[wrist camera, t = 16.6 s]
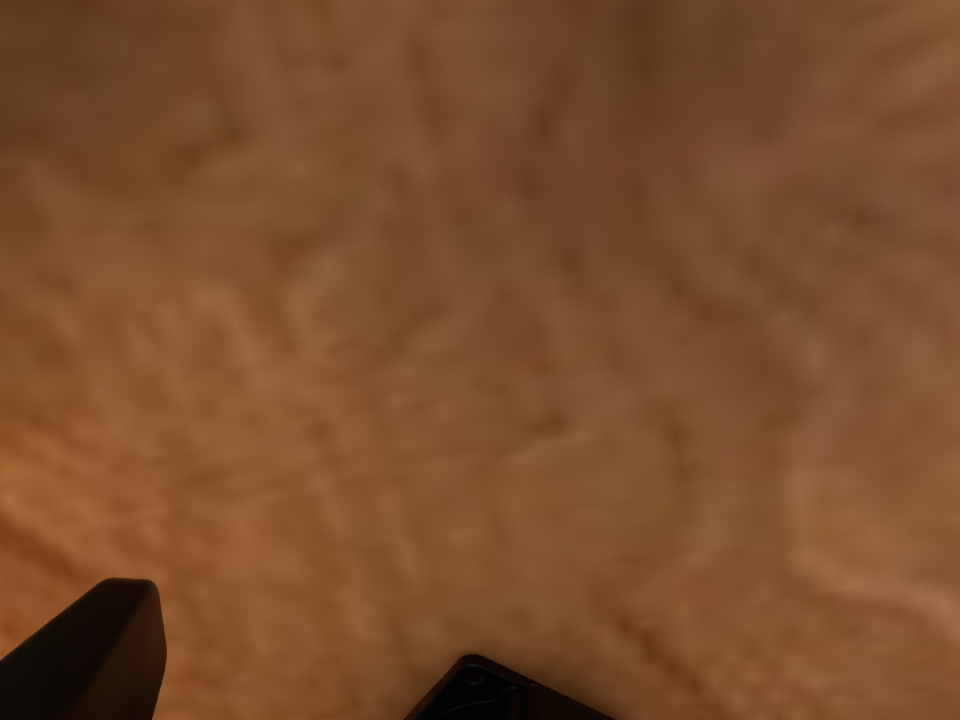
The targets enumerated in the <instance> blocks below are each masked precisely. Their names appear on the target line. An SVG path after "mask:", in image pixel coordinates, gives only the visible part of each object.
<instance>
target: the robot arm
mask: <svg viewBox="0 0 960 720" xmlns="http://www.w3.org/2000/svg"><path fill="white" fill-rule="evenodd" d="M166 657H167V647H166V639H165V632H164V625H163V618H162V611H161V604H160V597H159V592H158V589H157V587H156V585H155V583H154V582H152V581H150V580H147V579H131V578H108V579H105V580H103V581H101V582H100V583H98V584H97V585H96V586H94V587H93V588H92V589H90V590H89V591H88V592H87V593H85V594H84V595H83V596H82V597H80V598H79V599H78V600H76V601H75V602H74V603H73V604H71V605H70V606H69V607H67V608H66V609H65V610H64V611H62V612H61V613H60V614H59V615H57V616H56V617H55V618H53V619H52V620H51V621H50V622H48V623H47V624H46V625H44V626H43V627H42V628H41V629H39V630H38V631H37V632H36V633H34V634H33V635H32V636H30V637H29V638H28V639H27V640H25V641H24V642H23V643H21V644H20V645H19V646H18V647H16V648H15V649H14V650H12V651H11V652H10V653H9V654H7V655H6V656H5V657H4V658H2V659H1V660H0V720H152V717H153V714H154V710H155V706H156V702H157V699H158V695H159V691H160V687H161V684H162V680H163V676H164V672H165V666H166ZM471 671H475V673H472V672H471ZM404 720H615V719H613V718H611V717H609V716H606V715H604V714H602V713H600V712H598V711H596V710H594V709H592V708H590V707H588V706H586V705H583V704H581V703H579V702H577V701H575V700H573V699H571V698H569V697H567V696H565V695H563V694H560V693H558V692H556V691H554V690H552V689H550V688H548V687H546V686H544V685H542V684H540V683H537V682H535V681H533V680H531V679H529V678H527V677H525V676H523V675H521V674H519V673H517V672H514V671H512V670H510V669H508V668H506V667H504V666H502V665H500V664H498V663H496V662H493V661H491V660H489V659H487V658H485V657H483V656H480V655H477V654H469V655H466V656H463V657H462V658H460V659H459V660H458V661H457V662H456V663H455V664H454V665H453V666H452V667H451V669H450V670H449V671H448V672H447V673H446V674H445V675H444V676H443V677H442V678H441V679H440V681H439V682H438V683H437V684H436V685H435V686H434V687H433V688H432V689H431V690H430V691H429V693H428V694H427V695H426V696H425V697H424V698H423V699H422V700H421V701H420V702H419V703H418V705H417V706H416V707H415V708H414V709H413V710H412V711H411V712H410V713H409V714H408V715H407V717H406V718H405V719H404Z"/></svg>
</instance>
